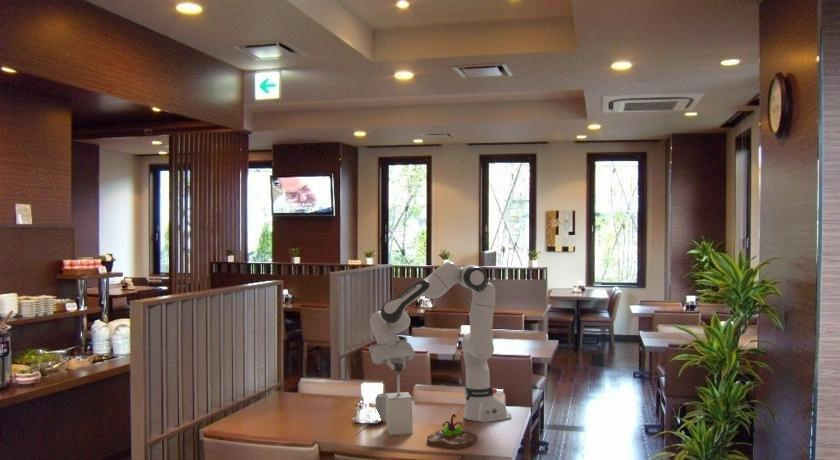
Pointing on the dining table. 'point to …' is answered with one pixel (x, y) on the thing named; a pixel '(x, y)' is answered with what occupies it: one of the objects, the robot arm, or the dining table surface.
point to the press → (399, 414)
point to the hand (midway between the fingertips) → (399, 368)
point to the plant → (452, 436)
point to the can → (381, 406)
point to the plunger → (398, 376)
